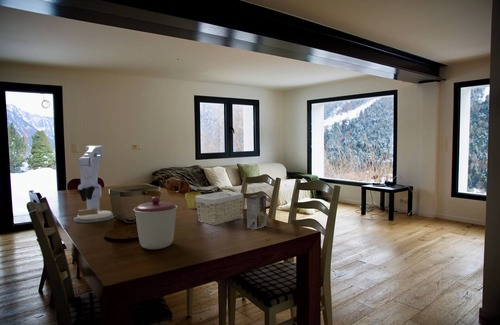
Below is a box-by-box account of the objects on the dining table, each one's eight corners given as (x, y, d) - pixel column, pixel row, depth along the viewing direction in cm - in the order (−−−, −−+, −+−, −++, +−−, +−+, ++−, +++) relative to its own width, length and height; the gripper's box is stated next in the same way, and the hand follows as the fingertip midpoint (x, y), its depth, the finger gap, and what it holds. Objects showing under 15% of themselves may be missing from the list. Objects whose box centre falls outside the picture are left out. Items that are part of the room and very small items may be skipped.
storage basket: (213, 226, 172) (213, 198, 171) (194, 221, 183) (193, 195, 182) (245, 218, 189) (244, 193, 188) (225, 214, 200) (225, 190, 199)
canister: (136, 255, 128) (134, 201, 127) (132, 242, 145) (131, 195, 144) (182, 249, 135) (181, 198, 134) (174, 237, 152) (173, 192, 151)
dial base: (72, 217, 196) (72, 214, 196) (112, 212, 207) (112, 210, 207) (74, 225, 177) (74, 222, 177) (118, 219, 189) (118, 217, 188)
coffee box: (256, 224, 175) (256, 194, 174) (266, 226, 171) (266, 195, 170) (246, 228, 167) (246, 196, 166) (257, 230, 164) (256, 197, 163)
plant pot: (186, 206, 226) (185, 192, 225) (201, 206, 227) (201, 192, 226) (184, 209, 216) (184, 194, 215) (200, 209, 217) (200, 194, 216)
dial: (109, 211, 205) (109, 204, 204) (113, 217, 189) (113, 209, 189) (76, 215, 195) (76, 208, 195) (78, 221, 180) (78, 213, 180)
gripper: (85, 176, 201) (86, 198, 201) (72, 178, 186) (73, 202, 187) (97, 176, 200) (98, 198, 201) (84, 178, 186) (85, 202, 187)
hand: (86, 200), depth 194 cm, fingers open, 5 cm apart
